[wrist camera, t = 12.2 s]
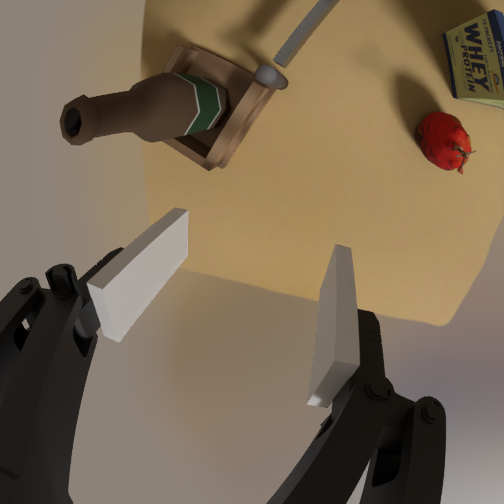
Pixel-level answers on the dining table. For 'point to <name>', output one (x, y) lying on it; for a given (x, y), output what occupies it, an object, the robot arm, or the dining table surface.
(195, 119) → the beer bottle
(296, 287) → the dining table surface
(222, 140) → the wooden crate
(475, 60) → the protein box
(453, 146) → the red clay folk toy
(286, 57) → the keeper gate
